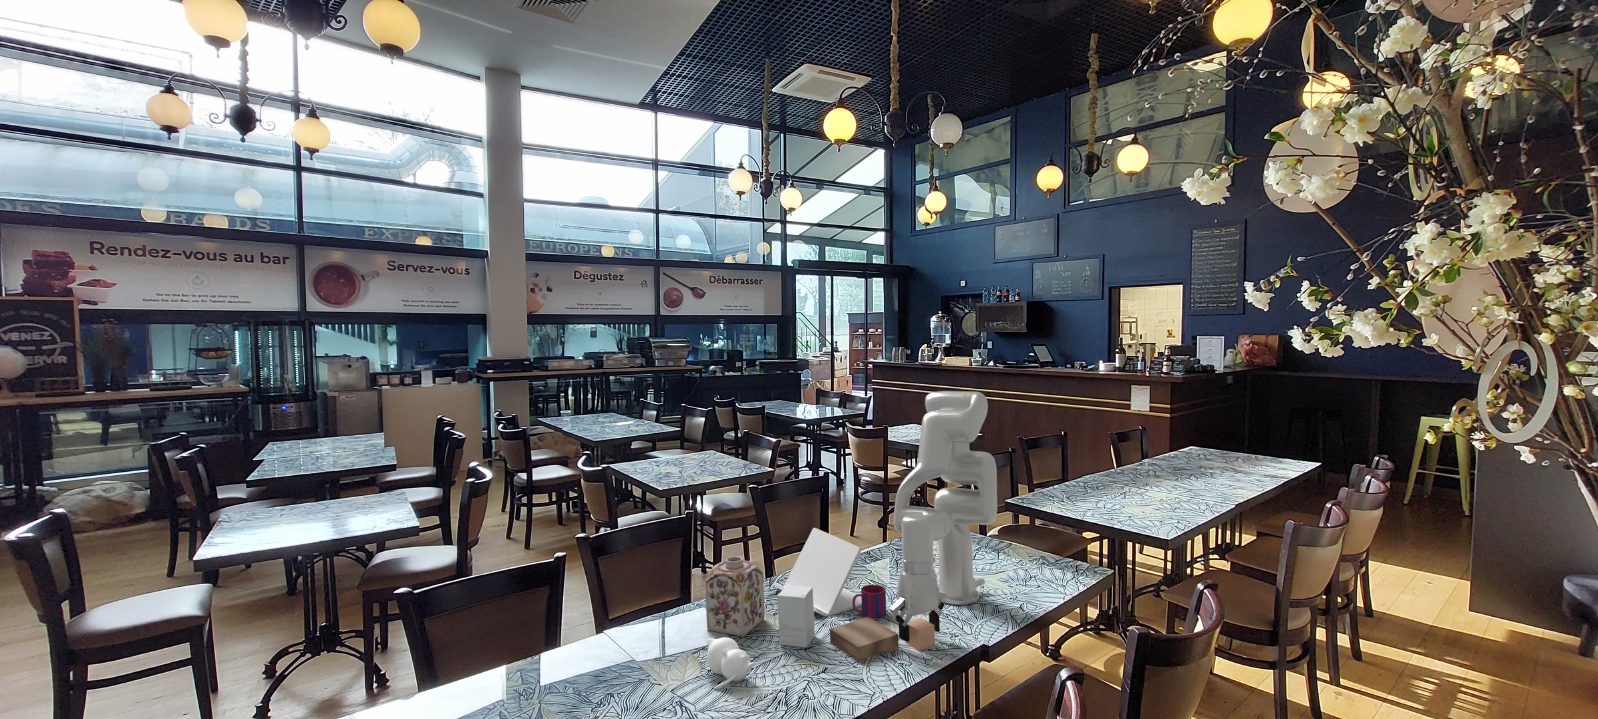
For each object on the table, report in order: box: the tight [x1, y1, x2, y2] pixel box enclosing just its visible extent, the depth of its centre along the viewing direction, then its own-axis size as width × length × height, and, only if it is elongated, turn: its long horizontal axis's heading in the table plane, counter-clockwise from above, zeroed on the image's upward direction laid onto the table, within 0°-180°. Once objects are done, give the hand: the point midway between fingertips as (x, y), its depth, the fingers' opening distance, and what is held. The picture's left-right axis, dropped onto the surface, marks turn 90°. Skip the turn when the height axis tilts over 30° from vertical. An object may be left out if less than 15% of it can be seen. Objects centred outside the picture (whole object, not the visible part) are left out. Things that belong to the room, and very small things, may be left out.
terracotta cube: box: [905, 617, 936, 651], centre depth 160 cm, size 5×5×5 cm
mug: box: [852, 584, 887, 619], centre depth 178 cm, size 7×10×7 cm
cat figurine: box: [706, 637, 756, 690], centre depth 147 cm, size 9×11×12 cm
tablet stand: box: [773, 527, 862, 617], centre depth 191 cm, size 18×25×17 cm
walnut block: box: [829, 617, 899, 663], centre depth 160 cm, size 12×12×4 cm
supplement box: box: [776, 585, 816, 648], centre depth 164 cm, size 7×7×13 cm
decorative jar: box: [705, 555, 765, 637], centre depth 174 cm, size 12×12×18 cm
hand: (919, 634), depth 160 cm, fingers open, 9 cm apart
